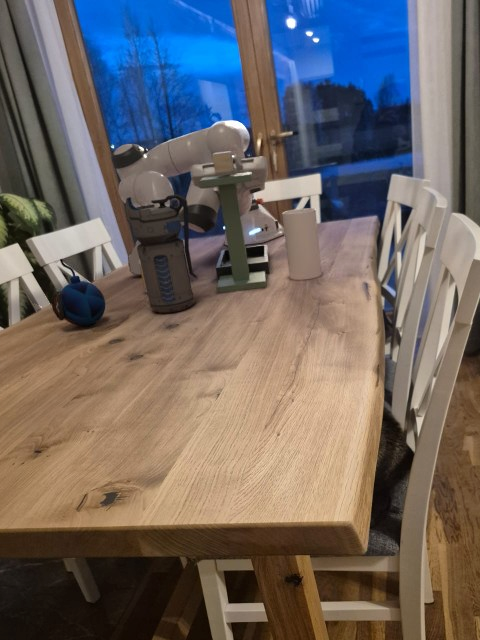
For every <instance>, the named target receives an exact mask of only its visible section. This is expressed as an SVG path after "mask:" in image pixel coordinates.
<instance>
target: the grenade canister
mask: <svg viewBox="0 0 480 640" xmlns="http://www.w3.org/2000/svg"><path fill="white" fill-rule="evenodd" d="M168 200H170V206H165V202H167V201H168ZM151 202H152V203H154V204H156V203H159V204H160V206H159V207H155V206H154V205H147V206H141V207H135V206H134V205H133V204H132V201H131V197H129V198H127V199H126V204H125V203H124V204H125V205H124V213H125V218H126V221H127V222H128V223H129V226H130V228H132V232H133V237H134V238H135V240H136V241H137V240H138V241H139V242H140V243H141V244H139V245H138V247H137V251H138V255H139V258H140V262H141V267H142V271H143V276H144V280H145V284H146V289H147V293H146V294H147V297H148V303H149V307H150V308H151V310H152V311H153V312H156V313H161V314H170V313H171V314H172V313H177V312H181V311H184V310H186V309H188V308H190V307H191V306H193V304H194V301H195V296H194V291H193V288H192V283H191V279H190V276H192V277H193V278H195V279H198V277H197V276H198V275H196V274H195V273H194V271H193V265H192V259H191V253H190V247H189V246H190V244H189V243H190V242H189V241H190V240H189V239H190V232H189V221H188V205H187V199H186V197H183V196H182V195H180V194H174V195H170V196H167V197H166V198H165V199H160V200H152V201H151ZM182 207H183V209H184V227H183V232H184V233H183V235H184V240H183V239H182V238H179V235H180V232H181V231H182V230H181V229H182V226H181V223H180V219H179V218H178V214H179V212H180V210H181V208H182Z"/></svg>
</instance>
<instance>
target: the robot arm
mask: <svg viewBox="0 0 480 640" xmlns="http://www.w3.org/2000/svg"><path fill="white" fill-rule="evenodd" d="M250 140H251V139H250V133H249V130H248V129H247V127H245V125H244V124H243V123H241V122H239V121H237V120H219V121H216V122H215V123H213V124H212V125H211V126H210V127H206V128H203V129H199V130H196V131H193V132H190V133H187V134H184V135H181V136H178V137H175V138H172V139H170V140H167V141H165V142H162V143H160V144H158V145H156V146H155V147H152V148H151V149H148V148H147V147H142V146H140V145H139V144H135V143H126V144H122V145H119V146H118V147H117V148H116V149H115V150H114V151H113V152H112V154H111V157H110V159H111V163H112V166H113V168H114V169H115V170H116V173H117V175H118V178H119V179H120V181H119V183H118V195H119V198H120V199H121V201H122V202H123V203H124V204H126V199H127V198H129V197H131V201H132V204H133V205H134V206H135V207H141V206H147V205H154V206H155V207H159V206H160V204H159V203H156V204H154V203H152V202H151V201H152V200H160V199H165V198H166V197H167V196H170V195H175V192H174V188H173V185H172V183H171V181H170V179H168V178H173V177H176V176H180V175H184V174H186V173H189V172H190V178H191V180H190V183H189V187H188V190H187V193H186V197H185V199H187V205H188V221H189V229H190V230H192V231H194V232H197V233H200V234H201V233H202V234H205V233H207V232H210V231H211V230H213V229H214V228H215V227H216V223H217V219H218V213H219V209H220V206H221V200H220V194H219V188H218V186H210V187H202V188H200V186H199V180H201V179H202V178H205V177H213V176H221V175H229V174H237V173H245V172H252V181H250V182H242V183H236V187H237V194H238V200H239V207H240V214H241V220H242V227H243V234H244V240H245V246H246V245H253V244H254V245H255V244H263V243H265V242H269V241H271V240H273V239H277V238H278V237H281V236H285V233H284V231H282V230H279V229H280V227H279V220H278V219H274V218H273V217H272V216H271V215H269V214H267V213H266V212H265V211H264V210H262V209H261V208H260V206H259V205H263V204H264V200H263V198H259V197H258V198H257V199H256V198H255V195H254V194H255V193H258V192H262V191H264V190H265V189H266V182H267V181H268V177H269V168H268V160H267V157H266V156H263V155H260V156H254V157H246V155H245V152H247V150H248V147H249V145H250ZM226 151H231V152H232V159H233V165H234V169H233V171H228V172H220V173H215V169H214V163H213V157H212V154H214V153H218V152H226ZM165 206H170V200H168V201H167V202H165ZM178 218H179V219H180V223H181V227H183V228H184V209H183V206H182V208H181V210H180V212H179V214H178ZM223 230H224V243H223V244H224V246H228V243H227V237H226V231H225V226H223Z"/></svg>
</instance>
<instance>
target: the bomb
mask: <svg viewBox="0 0 480 640" xmlns="http://www.w3.org/2000/svg"><path fill="white" fill-rule="evenodd" d="M59 261H60V264H61V265H62V267H64V268H66V269H68V270H70V272H71V273H72V275H71V276H70V277H69V281H70V283H68V284H66V285H65V286H63V288H62V289H61V290H58V291H56V293H54V294H53V295H52V297H51V301H50V302H51V308H52V312H53V313H54V315H55V317H56V318H57V319H58V320H60V321H66V322H68V323H70V324H72V325H74V326H77V327H89V326H91V325H94V324H96V323H98V322H99V321H100V320H101V319H102V317H103V316H104V313H105V311H106V299H105V296H104V294H103V292H102V291H101V289H100V288H99V287H97V285H95V284H93V283H92V282H89V281H85V280H81V277H80V276H79V275H76V272H75V270H74V269H73V268H72V267H71V266H69V265H67V264H65V263H64V260H63V258H61V259H59Z"/></svg>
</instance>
